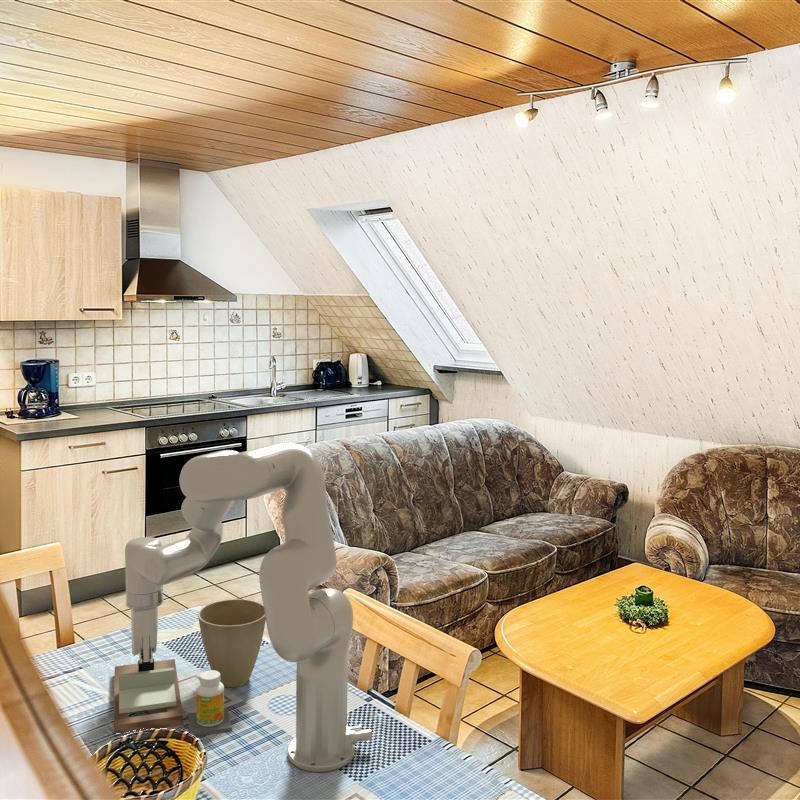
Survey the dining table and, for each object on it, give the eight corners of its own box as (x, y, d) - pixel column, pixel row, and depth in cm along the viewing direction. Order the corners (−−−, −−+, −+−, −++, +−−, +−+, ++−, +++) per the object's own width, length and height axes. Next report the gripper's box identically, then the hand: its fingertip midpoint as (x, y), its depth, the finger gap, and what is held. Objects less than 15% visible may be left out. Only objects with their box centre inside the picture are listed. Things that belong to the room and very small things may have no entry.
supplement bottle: (196, 729, 156) (196, 682, 155) (196, 715, 161) (195, 669, 160) (224, 725, 157) (224, 679, 156) (223, 712, 162) (223, 667, 161)
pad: (226, 710, 164) (226, 707, 164) (231, 730, 157) (231, 727, 157) (187, 716, 162) (186, 713, 161) (190, 736, 154) (190, 734, 154)
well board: (174, 667, 183) (174, 658, 182) (182, 724, 158) (182, 715, 158) (114, 674, 178) (114, 666, 178) (113, 735, 154) (113, 725, 154)
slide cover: (173, 685, 170) (173, 667, 170) (176, 705, 162) (176, 687, 161) (119, 692, 166) (118, 674, 166) (119, 713, 158) (118, 694, 157)
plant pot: (186, 691, 172) (185, 620, 170) (217, 661, 186) (217, 596, 184) (250, 700, 168) (249, 628, 166) (277, 669, 183) (277, 603, 181)
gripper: (126, 586, 174) (127, 665, 176) (126, 611, 160) (128, 697, 162) (161, 582, 176) (163, 661, 178) (164, 607, 162) (166, 692, 164)
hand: (146, 678), depth 170 cm, fingers closed
